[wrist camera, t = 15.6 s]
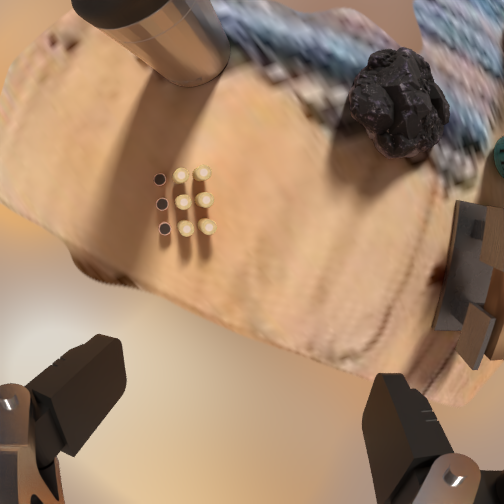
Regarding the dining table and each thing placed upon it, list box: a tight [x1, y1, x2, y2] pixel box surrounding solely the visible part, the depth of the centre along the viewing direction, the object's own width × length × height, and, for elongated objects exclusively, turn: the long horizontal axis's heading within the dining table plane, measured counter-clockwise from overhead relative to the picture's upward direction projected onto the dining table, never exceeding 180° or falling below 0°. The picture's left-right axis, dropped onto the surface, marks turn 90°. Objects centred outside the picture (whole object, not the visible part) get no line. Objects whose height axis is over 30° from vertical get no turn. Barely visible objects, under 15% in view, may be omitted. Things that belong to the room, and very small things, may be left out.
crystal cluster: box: [348, 47, 450, 159], centre depth 27 cm, size 13×14×10 cm
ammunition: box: [153, 165, 217, 237], centre depth 34 cm, size 5×7×8 cm
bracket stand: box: [432, 200, 504, 370], centre depth 28 cm, size 17×8×12 cm, turn 176°
